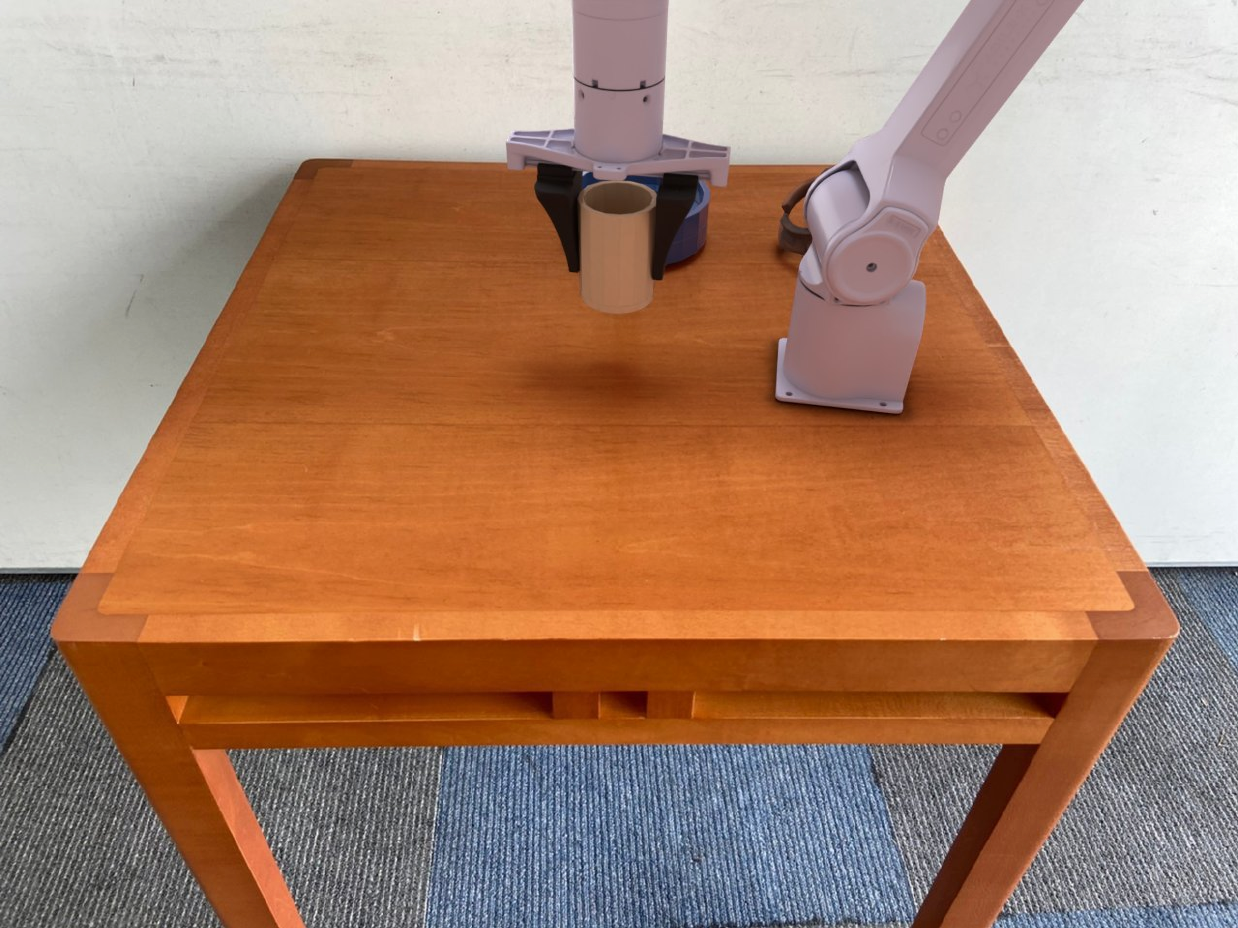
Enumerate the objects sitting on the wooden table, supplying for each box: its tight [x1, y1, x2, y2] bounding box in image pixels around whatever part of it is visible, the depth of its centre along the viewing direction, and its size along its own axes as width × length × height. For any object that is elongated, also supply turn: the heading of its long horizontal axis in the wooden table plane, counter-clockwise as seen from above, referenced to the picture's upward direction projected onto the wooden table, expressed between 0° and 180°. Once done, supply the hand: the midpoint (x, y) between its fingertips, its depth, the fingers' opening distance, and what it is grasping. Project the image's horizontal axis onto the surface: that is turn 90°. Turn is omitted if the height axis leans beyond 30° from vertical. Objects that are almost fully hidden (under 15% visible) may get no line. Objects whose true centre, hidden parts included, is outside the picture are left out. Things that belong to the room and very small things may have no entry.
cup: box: [578, 181, 657, 315], centre depth 64 cm, size 5×5×8 cm
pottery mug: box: [777, 165, 835, 256], centre depth 85 cm, size 12×10×8 cm
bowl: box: [582, 171, 712, 266], centre depth 85 cm, size 13×13×5 cm
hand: (616, 269), depth 65 cm, fingers closed on cup, 5 cm apart
